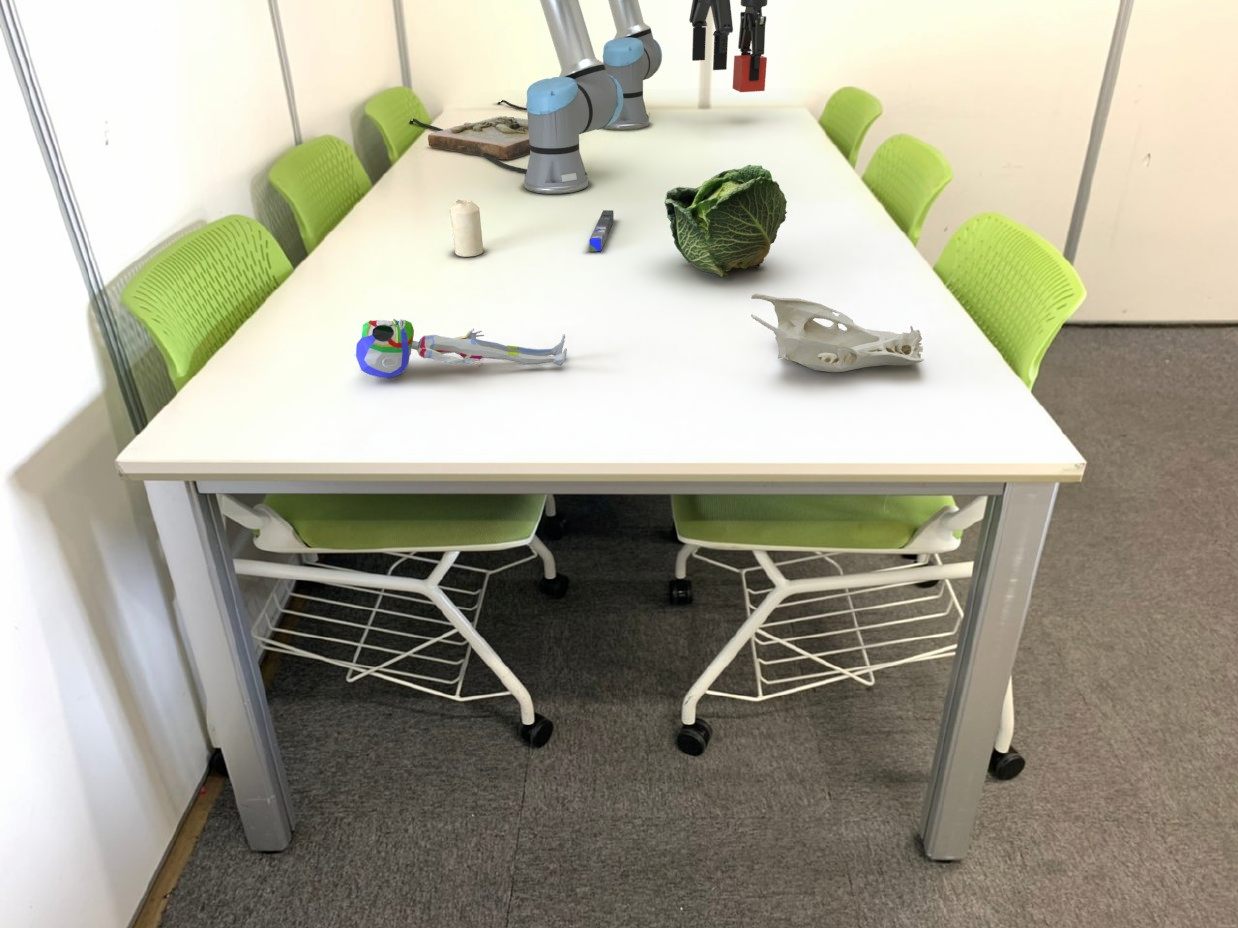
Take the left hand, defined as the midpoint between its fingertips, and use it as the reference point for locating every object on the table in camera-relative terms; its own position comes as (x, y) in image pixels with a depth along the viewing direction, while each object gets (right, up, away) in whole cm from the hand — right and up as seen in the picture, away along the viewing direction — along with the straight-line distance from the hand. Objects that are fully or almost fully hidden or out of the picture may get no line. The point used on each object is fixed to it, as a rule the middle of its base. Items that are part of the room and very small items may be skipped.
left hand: (708, 65), depth 192 cm
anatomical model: (+12, -71, -60) cm, 93 cm away
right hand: (+19, +29, +73) cm, 81 cm away
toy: (-42, -71, -60) cm, 102 cm away
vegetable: (0, -49, -26) cm, 56 cm away
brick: (+19, +26, +75) cm, 81 cm away
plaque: (-52, +5, +62) cm, 81 cm away
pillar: (-23, -39, -9) cm, 46 cm away
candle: (-48, -44, -16) cm, 68 cm away
